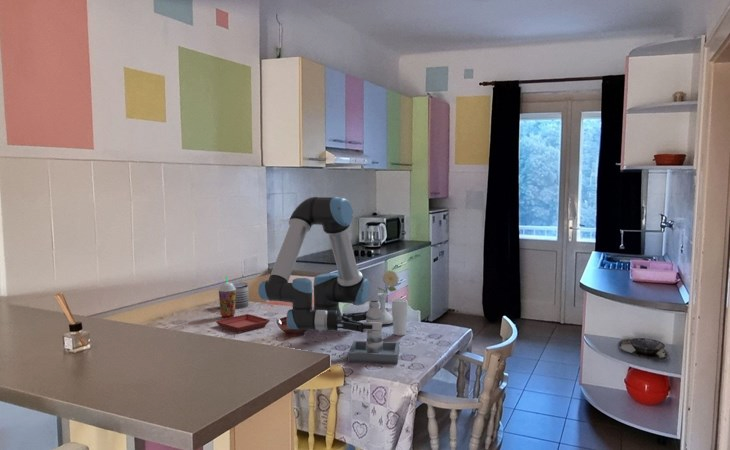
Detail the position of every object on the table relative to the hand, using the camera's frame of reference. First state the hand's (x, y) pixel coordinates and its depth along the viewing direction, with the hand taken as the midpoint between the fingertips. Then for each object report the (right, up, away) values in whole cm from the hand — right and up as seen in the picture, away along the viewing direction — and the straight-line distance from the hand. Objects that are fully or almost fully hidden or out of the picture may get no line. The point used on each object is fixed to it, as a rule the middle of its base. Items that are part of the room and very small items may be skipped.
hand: (383, 321), depth 211 cm
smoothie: (-74, -9, +62) cm, 97 cm away
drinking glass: (+8, -11, +32) cm, 35 cm away
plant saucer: (-63, -10, +45) cm, 78 cm away
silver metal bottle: (-3, -13, +1) cm, 13 cm away
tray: (-3, -13, +1) cm, 14 cm away
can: (-74, -7, +86) cm, 114 cm away
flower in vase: (+2, -10, +51) cm, 52 cm away
